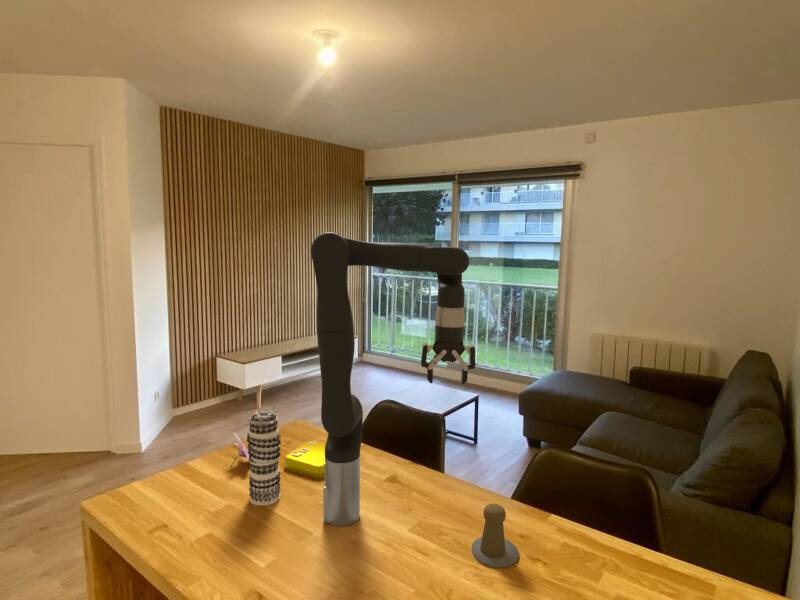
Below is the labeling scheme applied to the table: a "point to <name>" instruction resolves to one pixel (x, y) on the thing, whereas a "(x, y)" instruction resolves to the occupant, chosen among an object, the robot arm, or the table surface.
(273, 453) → the decorative candle
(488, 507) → the olive game pawn
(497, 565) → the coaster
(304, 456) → the element tile
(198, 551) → the table surface
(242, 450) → the lily
